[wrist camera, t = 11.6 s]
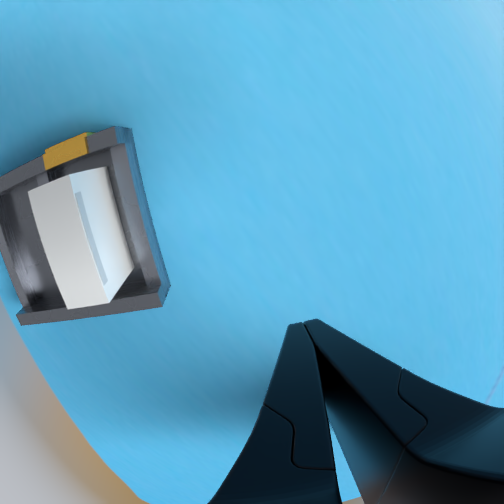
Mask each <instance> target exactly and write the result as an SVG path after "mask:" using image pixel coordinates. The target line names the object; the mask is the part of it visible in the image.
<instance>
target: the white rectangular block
mask: <svg viewBox="0 0 504 504" xmlns="http://www.w3.org/2000/svg"><path fill="white" fill-rule="evenodd" d="M28 195H29V199H30V203H31V207H32V211H33V214H34V218H35V222H36V225H37V228H38V232H39V235H40V238H41V241H42V244H43V247H44V250H45V253H46V256H47V259H48V262H49V265H50V267H51V270H52V273H53V275H54V278H55V280H56V283H57V285H58V288H59V290H60V293H61V295H62V297H63V300H64V302H65V304H66V307H67V309H74V308H80V307H87V306H94V305H100V304H106V303H110V301H111V300H112V298H113V297H114V295H115V294H116V293H117V291H118V290H119V288H120V287H121V285H122V284H123V283H124V281H125V280H126V278H127V277H128V276H129V274H130V273H131V271H132V270H133V269H134V264H133V261H132V258H131V255H130V251H129V248H128V245H127V242H126V238H125V235H124V231H123V228H122V224H121V221H120V217H119V213H118V210H117V206H116V202H115V198H114V194H113V190H112V186H111V182H110V177H109V173H108V168H107V166H105V167H101V168H96V169H91V170H86V171H82V172H77V173H73V174H69V175H66V176H64V177H61V178H59V179H56V180H54V181H51V182H49V183H46V184H44V185H42V186H39V187H37V188H35V189H32V190H30V191H28Z"/></svg>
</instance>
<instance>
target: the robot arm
mask: <svg viewBox="0 0 504 504" xmlns="http://www.w3.org/2000/svg"><path fill="white" fill-rule="evenodd" d="M328 418H329V421H330V423H331V425H332V428H333V430H334V432H335V435H336V437H337V440H338V442H339V444H340V447H341V449H342V451H343V454H344V456H345V458H346V461H347V463H348V466H349V468H350V470H351V473H352V475H353V477H354V480H355V482H356V484H357V487H358V489H359V492H360V494H361V496H362V499H363V501H364V503H365V504H504V408H498V407H492V406H489V405H486V404H483V403H480V402H478V401H475V400H472V399H470V398H467V397H465V396H462V395H459V394H457V393H454V392H452V391H449V390H447V389H445V388H442V387H440V386H438V385H435V384H433V383H431V382H429V381H427V380H425V379H423V378H421V377H419V376H417V375H415V374H413V373H412V372H410V371H408V370H406V369H404V368H403V369H402V367H401V366H399V365H397V364H395V363H394V362H392V361H390V360H388V359H386V358H385V357H383V356H381V355H379V354H378V353H376V352H374V351H372V350H371V349H369V348H367V347H365V346H364V345H362V344H360V343H359V342H357V341H355V340H353V339H352V338H350V337H348V336H346V335H345V334H343V333H341V332H340V331H338V330H336V329H334V328H333V327H331V326H329V325H328V324H326V323H324V322H323V321H321V320H319V319H313V320H308V321H305V322H304V323H302V322H299V323H294V324H290V325H289V326H288V328H287V331H286V334H285V338H284V341H283V344H282V347H281V350H280V353H279V357H278V360H277V363H276V366H275V369H274V372H273V375H272V378H271V381H270V384H269V387H268V390H267V393H266V396H265V399H264V402H263V406H262V407H261V410H260V413H259V415H258V418H257V421H256V423H255V425H254V428H253V430H252V433H251V435H250V437H249V439H248V441H247V442H246V444H245V446H244V448H243V450H242V452H241V453H240V455H239V457H238V458H237V460H236V462H235V464H234V465H233V467H232V468H231V470H230V472H229V473H228V475H227V477H226V478H225V480H224V481H223V483H222V485H221V486H220V488H219V489H218V491H217V492H216V494H215V495H214V496H213V498H212V499H211V500H210V501H209V503H208V504H342V501H341V497H340V492H339V487H338V481H337V475H336V467H335V461H334V454H333V447H332V441H331V434H330V428H329V422H328Z"/></svg>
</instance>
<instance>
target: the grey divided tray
mask: <svg viewBox="0 0 504 504" xmlns="http://www.w3.org/2000/svg"><path fill="white" fill-rule="evenodd" d="M105 166H107V168H108V173H109V177H110V182H111V186H112V190H113V194H114V198H115V202H116V206H117V210H118V213H119V217H120V221H121V224H122V228H123V231H124V235H125V238H126V242H127V245H128V248H129V251H130V255H131V258H132V261H133V264H134V269H133V270H132V271H131V273H130V274H129V276H128V277H127V278H126V280H125V281H124V283H123V284H122V285H121V287H120V288H119V290H118V291H117V293H116V294H115V295H114V297H113V298H112V300H111V301H110V303H106V304H100V305H94V306H87V307H80V308H74V309H67V307H66V304H65V302H64V300H63V297H62V295H61V293H60V290H59V288H58V285H57V283H56V280H55V278H54V275H53V273H52V270H51V267H50V265H49V262H48V259H47V256H46V253H45V250H44V247H43V244H42V241H41V238H40V235H39V232H38V228H37V225H36V222H35V218H34V214H33V211H32V207H31V203H30V199H29V195H28V191H30V190H32V189H35V188H37V187H39V186H42V185H44V184H46V183H49V182H51V181H54V180H56V179H59V178H61V177H64V176H66V175H69V174H73V173H77V172H82V171H86V170H91V169H96V168H101V167H105ZM0 251H1V254H2V256H3V259H4V262H5V265H6V268H7V270H8V273H9V276H10V278H11V281H12V283H13V286H14V288H15V290H16V293H17V295H18V297H19V300H20V302H21V304H22V306H23V308H22V309H21V310H20V311H19V312H18V313H17V314H16V316H17V318H18V320H19V322H20V324H21V326H22V325H31V324H40V323H49V322H58V321H66V320H74V319H82V318H89V317H97V316H104V315H111V314H118V313H125V312H132V311H138V310H145V309H151V308H158V307H163V304H164V301H165V299H166V296H167V294H168V291H169V288H170V286H171V285H170V281H169V278H168V275H167V272H166V268H165V265H164V262H163V258H162V255H161V251H160V248H159V244H158V241H157V237H156V234H155V230H154V226H153V222H152V219H151V215H150V211H149V207H148V203H147V199H146V195H145V191H144V186H143V182H142V178H141V173H140V169H139V164H138V159H137V155H136V150H135V145H134V140H133V135H132V129H129V128H123V127H116V126H114V127H111V128H108V129H105V130H102V131H100V132H97V133H95V132H85V133H82V134H80V135H78V136H75V137H73V138H70V139H68V140H66V141H63V142H61V143H59V144H56V145H54V146H52V147H50V148H48V149H46V150H45V154H43V155H42V156H40V157H38V158H36V159H34V160H32V161H30V162H28V163H26V164H24V165H22V166H20V167H18V168H16V169H14V170H12V171H10V172H8V173H7V174H5V175H3V176H1V177H0Z"/></svg>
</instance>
